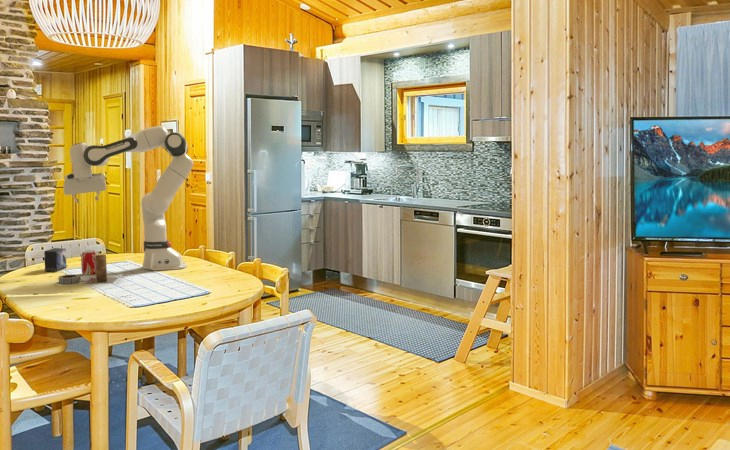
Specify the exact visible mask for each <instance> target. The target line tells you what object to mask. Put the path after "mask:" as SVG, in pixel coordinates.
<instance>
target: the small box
mask: <svg viewBox="0 0 730 450" xmlns="http://www.w3.org/2000/svg"><path fill="white" fill-rule="evenodd" d="M65 269H67V249H66V248H63V247H62V248H60V247H58V248H57V247H55V248H54V247H53V248H50V249H48V250H44V272H59V271H62V270H65Z"/></svg>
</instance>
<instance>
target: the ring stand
mask: <svg viewBox="0 0 730 450" xmlns="http://www.w3.org/2000/svg"><path fill="white" fill-rule="evenodd" d="M54 284H55V286H60V287H64V286H65V287H69V286H77V285H82V284H85V280H81V275H80V274H65V275H60V276H58V282H56V283H54Z"/></svg>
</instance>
